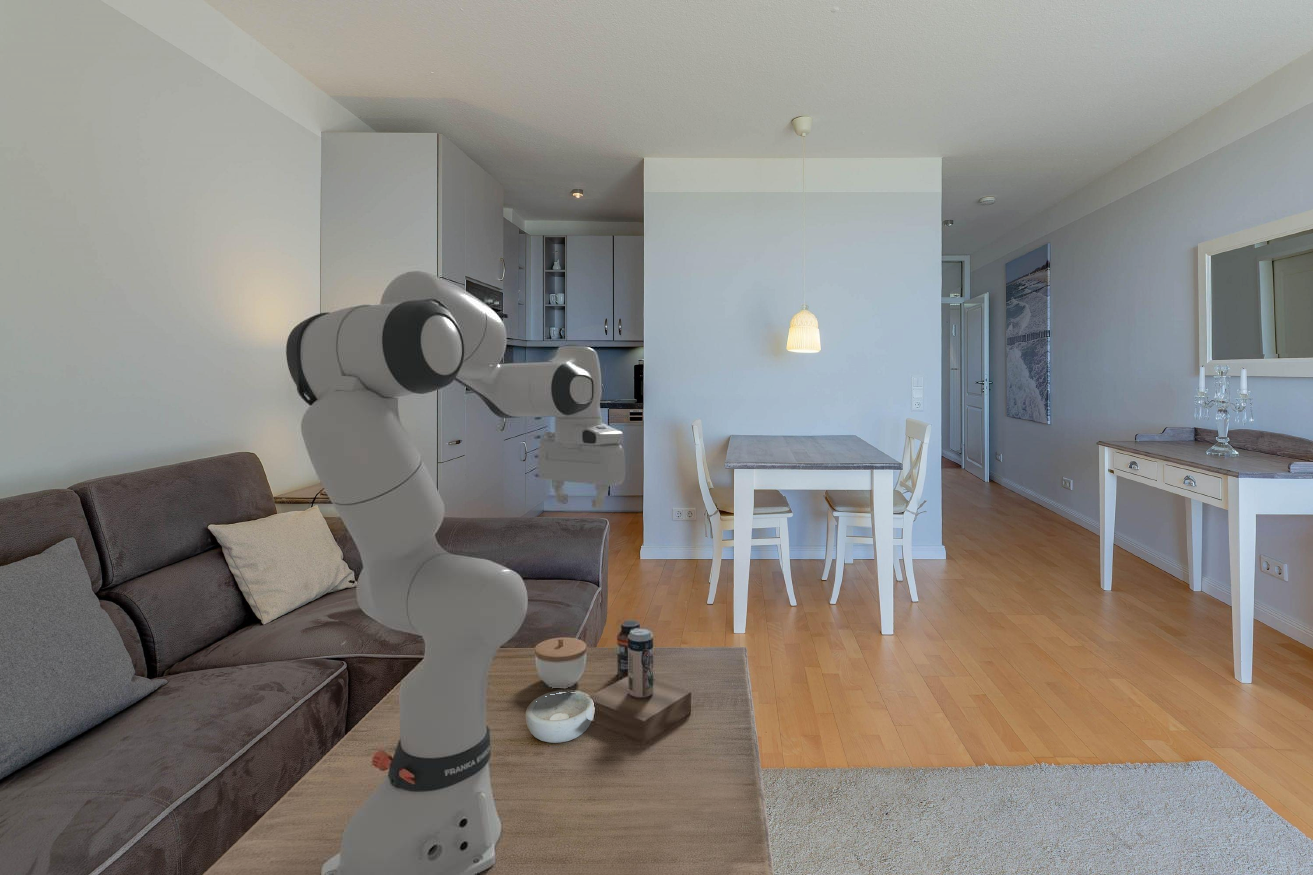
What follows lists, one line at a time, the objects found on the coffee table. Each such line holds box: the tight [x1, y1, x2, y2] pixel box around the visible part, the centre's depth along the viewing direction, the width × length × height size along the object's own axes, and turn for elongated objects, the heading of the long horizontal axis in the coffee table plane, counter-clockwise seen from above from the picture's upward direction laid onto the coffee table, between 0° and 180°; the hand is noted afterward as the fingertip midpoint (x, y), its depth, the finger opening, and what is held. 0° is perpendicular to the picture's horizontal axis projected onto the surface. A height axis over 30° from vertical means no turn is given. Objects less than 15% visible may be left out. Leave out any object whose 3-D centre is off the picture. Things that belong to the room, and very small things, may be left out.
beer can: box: [628, 627, 655, 698], centre depth 122 cm, size 5×5×12 cm
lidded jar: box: [534, 637, 588, 690], centre depth 137 cm, size 11×11×9 cm
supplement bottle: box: [616, 619, 641, 679], centre depth 140 cm, size 6×6×11 cm
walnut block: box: [588, 676, 692, 744], centre depth 122 cm, size 14×14×4 cm
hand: (579, 505), depth 124 cm, fingers open, 8 cm apart
